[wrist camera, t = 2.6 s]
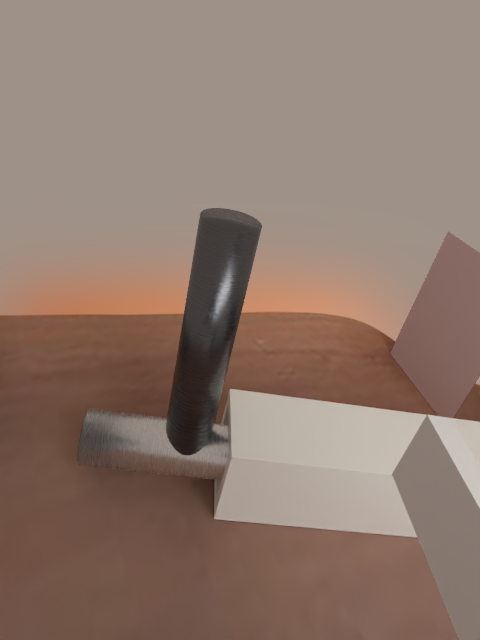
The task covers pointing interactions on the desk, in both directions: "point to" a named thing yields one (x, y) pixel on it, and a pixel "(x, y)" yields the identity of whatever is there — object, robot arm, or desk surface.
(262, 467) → the elongated cream cuboid
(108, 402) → the desk surface
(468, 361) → the greeting card
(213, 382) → the slide bolt
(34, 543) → the desk surface
